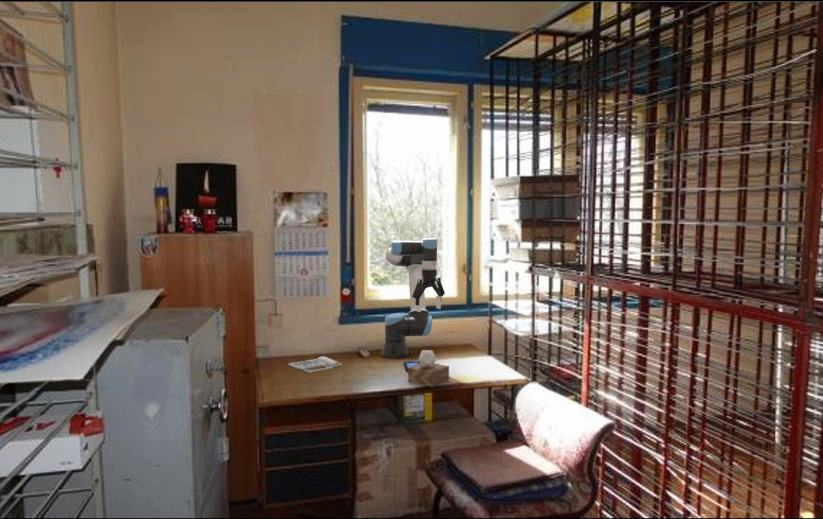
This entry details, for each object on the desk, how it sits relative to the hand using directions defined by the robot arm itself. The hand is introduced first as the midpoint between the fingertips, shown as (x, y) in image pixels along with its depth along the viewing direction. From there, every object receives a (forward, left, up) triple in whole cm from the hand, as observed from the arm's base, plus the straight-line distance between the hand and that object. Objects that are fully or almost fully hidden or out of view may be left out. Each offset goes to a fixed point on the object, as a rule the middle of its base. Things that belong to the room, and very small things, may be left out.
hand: (428, 310), depth 274 cm
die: (+15, -14, -24) cm, 32 cm away
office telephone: (-40, -42, -31) cm, 66 cm away
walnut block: (+15, -13, -31) cm, 37 cm away
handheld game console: (-4, -3, -31) cm, 31 cm away
